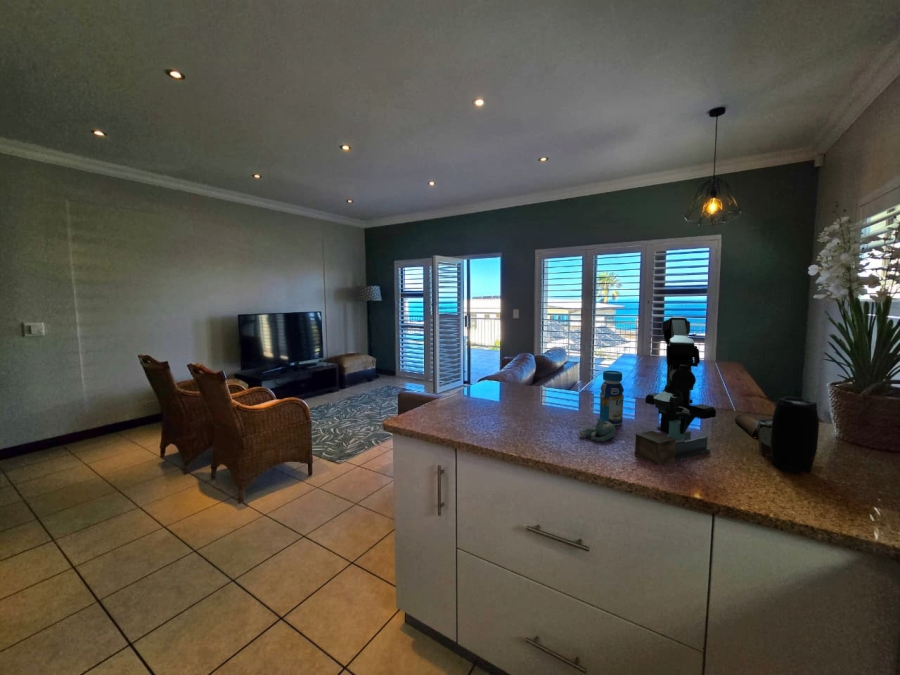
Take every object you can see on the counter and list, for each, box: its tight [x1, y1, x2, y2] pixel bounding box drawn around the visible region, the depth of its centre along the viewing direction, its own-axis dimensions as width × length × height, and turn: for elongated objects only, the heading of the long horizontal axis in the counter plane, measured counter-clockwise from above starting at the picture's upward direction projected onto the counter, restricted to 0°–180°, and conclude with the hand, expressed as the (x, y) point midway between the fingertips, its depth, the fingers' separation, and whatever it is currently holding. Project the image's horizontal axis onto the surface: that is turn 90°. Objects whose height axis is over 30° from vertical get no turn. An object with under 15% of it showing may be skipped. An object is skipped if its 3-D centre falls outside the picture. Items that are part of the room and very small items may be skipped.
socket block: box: [634, 430, 676, 466], centre depth 107 cm, size 7×8×7 cm
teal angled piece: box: [668, 420, 685, 443], centre depth 109 cm, size 13×4×8 cm, turn 113°
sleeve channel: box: [666, 430, 711, 462], centre depth 112 cm, size 16×8×4 cm, turn 113°
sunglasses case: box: [734, 414, 759, 439], centre depth 130 cm, size 18×7×7 cm, turn 158°
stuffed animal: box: [578, 418, 616, 443], centre depth 124 cm, size 11×7×12 cm
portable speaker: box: [771, 396, 820, 475], centre depth 99 cm, size 9×9×20 cm
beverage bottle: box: [599, 370, 625, 426], centre depth 139 cm, size 8×8×20 cm
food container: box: [755, 417, 773, 456], centre depth 111 cm, size 12×6×10 cm, turn 71°
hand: (676, 432), depth 111 cm, fingers closed on teal angled piece, 3 cm apart
